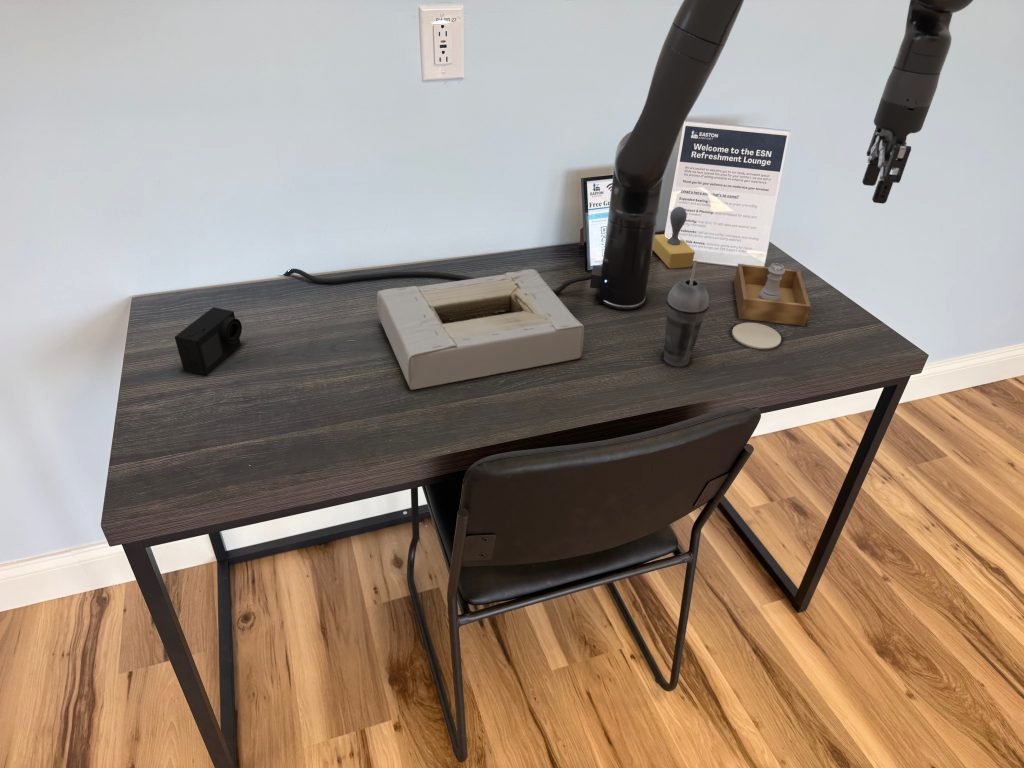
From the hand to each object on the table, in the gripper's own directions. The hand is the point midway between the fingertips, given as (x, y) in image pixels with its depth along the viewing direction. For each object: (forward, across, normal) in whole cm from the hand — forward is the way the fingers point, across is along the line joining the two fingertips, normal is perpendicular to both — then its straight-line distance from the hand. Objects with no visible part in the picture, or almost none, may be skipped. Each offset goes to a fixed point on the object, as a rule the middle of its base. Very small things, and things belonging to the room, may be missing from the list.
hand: (873, 193), depth 129 cm
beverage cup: (+27, +21, -30) cm, 45 cm away
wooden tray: (+26, -4, -11) cm, 29 cm away
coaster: (+26, +10, -15) cm, 32 cm away
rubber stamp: (+27, -21, -31) cm, 46 cm away
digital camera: (+28, +40, -109) cm, 119 cm away
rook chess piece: (+26, -4, -11) cm, 29 cm away
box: (+27, +24, -66) cm, 75 cm away
